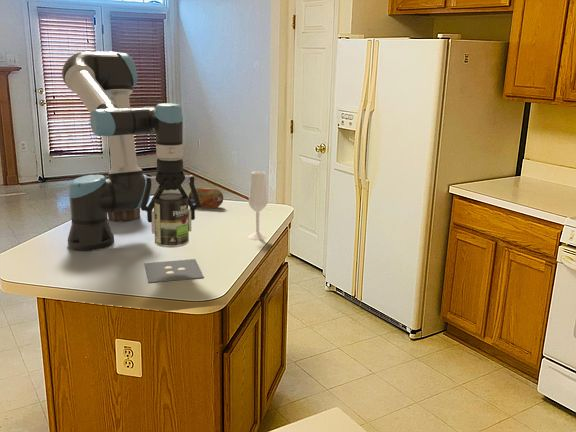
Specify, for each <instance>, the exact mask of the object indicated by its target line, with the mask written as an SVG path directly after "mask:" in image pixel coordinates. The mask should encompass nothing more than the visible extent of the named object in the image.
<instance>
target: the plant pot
mask: <svg viewBox="0 0 576 432" xmlns="http://www.w3.org/2000/svg"><path fill="white" fill-rule="evenodd" d="M104 177H105V178H106V179H108V178H109V176H108V175H107V176H104ZM140 217H141V208H138V209H135V210H124V211H117V212H109V213H107V218H108V220H109V221H113V222H117V223H118V222H122V223H123V222H125V221H128V222H131V221H135V220H137V219H140Z"/></svg>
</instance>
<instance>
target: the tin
mask: <svg viewBox="0 0 576 432" xmlns="http://www.w3.org/2000/svg"><path fill="white" fill-rule="evenodd" d="M195 188H196V192H197V195H198V198H199V201H200V204H201V207H200V208H202V207H203V208H204V209H206V208H207V209H216V208H218V207H220V206H221V205H222V204H223V202H224V195H223V192H222V191H221V190H219V189H217V188H209V187H207V188H205V187H195ZM188 194H189V195H188V197H189V199H190V201H191V202H192V204H195V201H194V198H193V194H192V191H191V190H190V192H189V193H188Z"/></svg>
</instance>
